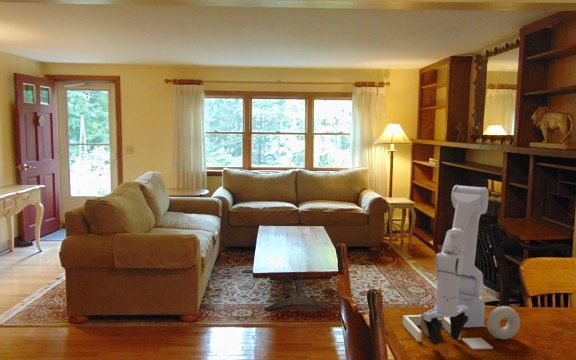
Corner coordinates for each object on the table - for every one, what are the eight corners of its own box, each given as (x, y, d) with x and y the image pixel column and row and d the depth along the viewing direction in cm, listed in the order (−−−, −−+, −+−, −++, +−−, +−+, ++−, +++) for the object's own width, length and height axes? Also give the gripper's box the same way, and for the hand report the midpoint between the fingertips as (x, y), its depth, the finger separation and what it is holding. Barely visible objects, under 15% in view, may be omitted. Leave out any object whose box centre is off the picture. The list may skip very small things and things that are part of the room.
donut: (514, 335, 135) (516, 303, 134) (521, 341, 132) (524, 308, 131) (483, 337, 134) (485, 304, 133) (490, 342, 130) (492, 309, 129)
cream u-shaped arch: (441, 323, 143) (442, 314, 143) (460, 339, 132) (460, 330, 131) (402, 324, 141) (403, 315, 141) (417, 341, 130) (418, 331, 130)
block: (434, 329, 139) (435, 313, 138) (441, 335, 134) (442, 319, 134) (420, 329, 138) (421, 314, 138) (426, 336, 134) (427, 320, 133)
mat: (480, 339, 132) (480, 337, 132) (492, 348, 127) (492, 347, 126) (461, 339, 132) (461, 338, 132) (472, 349, 126) (472, 348, 126)
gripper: (455, 286, 133) (453, 331, 134) (417, 293, 127) (414, 339, 128) (474, 295, 126) (471, 341, 128) (435, 302, 120) (432, 350, 122)
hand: (444, 341), depth 128 cm, fingers open, 7 cm apart
